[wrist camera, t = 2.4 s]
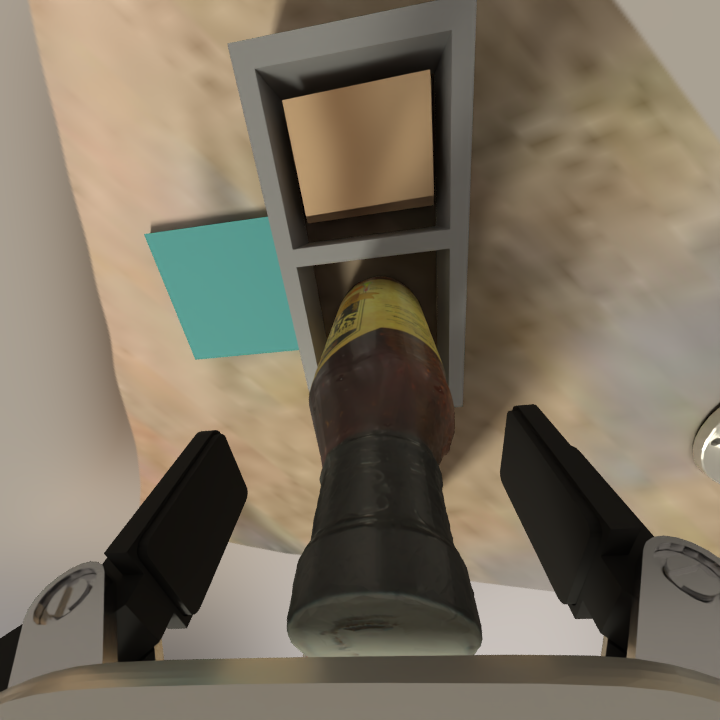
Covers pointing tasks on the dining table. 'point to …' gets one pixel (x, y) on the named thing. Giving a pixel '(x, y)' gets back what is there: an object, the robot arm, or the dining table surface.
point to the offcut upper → (363, 143)
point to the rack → (347, 68)
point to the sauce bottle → (382, 492)
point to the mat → (226, 287)
